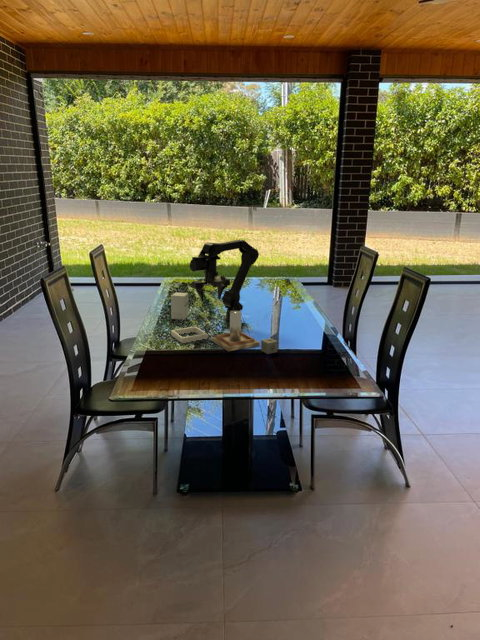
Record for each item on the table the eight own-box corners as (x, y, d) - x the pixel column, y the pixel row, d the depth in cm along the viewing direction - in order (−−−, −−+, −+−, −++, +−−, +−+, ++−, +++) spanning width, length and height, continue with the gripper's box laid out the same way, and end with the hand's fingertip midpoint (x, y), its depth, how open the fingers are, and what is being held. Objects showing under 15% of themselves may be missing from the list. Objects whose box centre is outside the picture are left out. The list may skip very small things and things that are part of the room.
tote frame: (195, 331, 245) (195, 326, 244) (207, 339, 235) (207, 333, 234) (171, 335, 239) (171, 330, 238) (182, 343, 229) (182, 338, 228)
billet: (232, 337, 233) (232, 310, 229) (242, 338, 231) (242, 311, 227) (228, 340, 228) (228, 312, 224) (238, 342, 227) (238, 314, 223)
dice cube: (277, 352, 220) (277, 341, 218) (267, 354, 217) (268, 343, 216) (270, 348, 224) (270, 337, 222) (260, 350, 221) (261, 339, 220)
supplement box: (184, 320, 263) (184, 296, 259) (171, 318, 264) (170, 295, 260) (189, 315, 270) (188, 292, 266) (175, 315, 271) (175, 292, 267)
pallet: (241, 335, 240) (241, 329, 240) (259, 345, 227) (259, 339, 226) (211, 340, 233) (211, 334, 232) (228, 351, 220) (228, 345, 219)
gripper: (200, 274, 234) (200, 306, 239) (235, 270, 243) (235, 301, 248) (190, 269, 244) (190, 301, 248) (224, 266, 253) (224, 296, 257)
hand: (210, 300), depth 250 cm, fingers open, 9 cm apart
